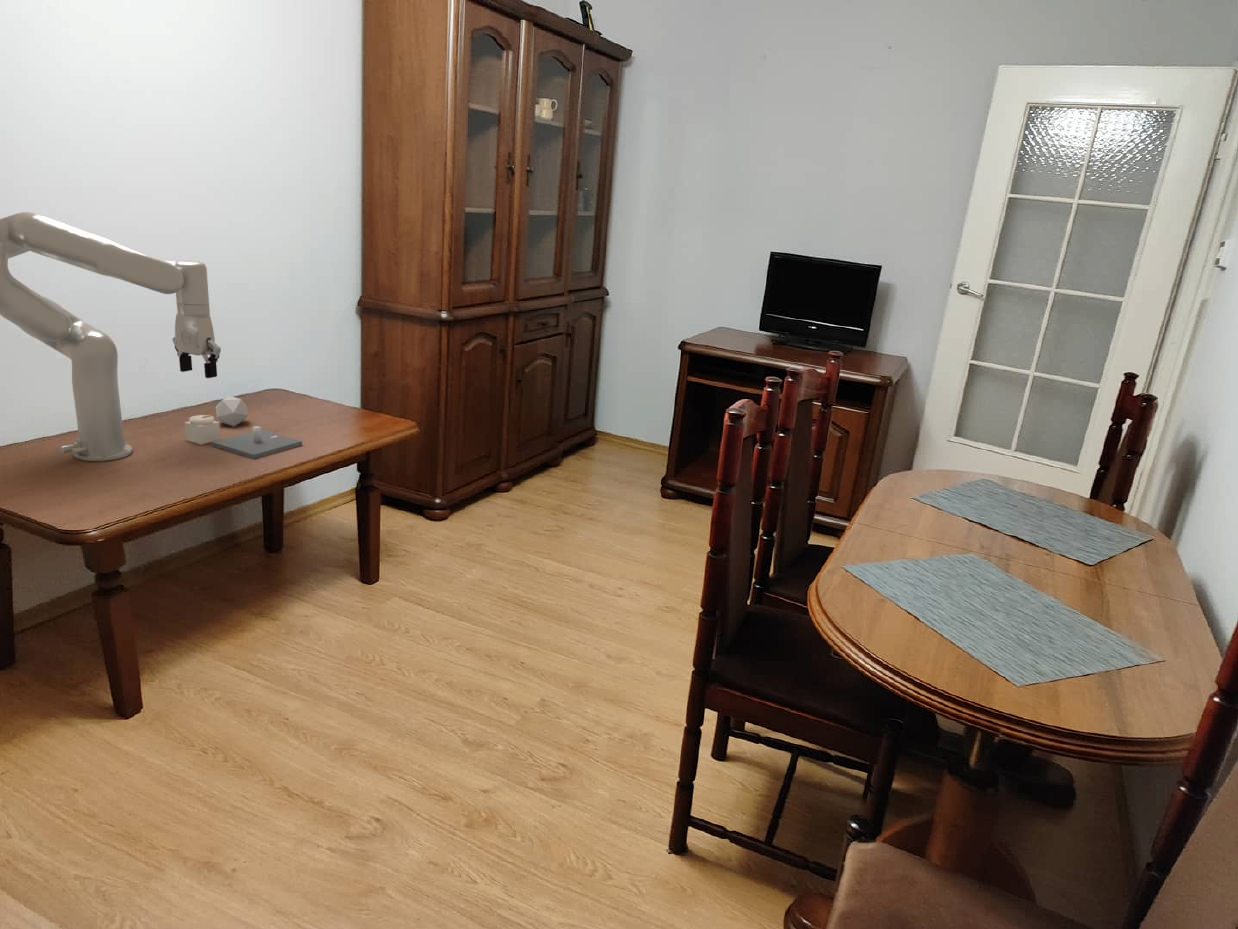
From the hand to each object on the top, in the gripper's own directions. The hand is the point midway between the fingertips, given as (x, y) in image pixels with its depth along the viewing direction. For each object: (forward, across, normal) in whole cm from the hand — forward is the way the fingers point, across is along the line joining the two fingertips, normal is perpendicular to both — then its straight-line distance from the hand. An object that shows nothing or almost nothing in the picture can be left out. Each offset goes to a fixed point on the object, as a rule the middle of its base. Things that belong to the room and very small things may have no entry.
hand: (198, 374), depth 218 cm
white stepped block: (+18, 0, 0) cm, 18 cm away
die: (+19, -7, +15) cm, 25 cm away
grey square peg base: (+18, +14, +6) cm, 24 cm away
